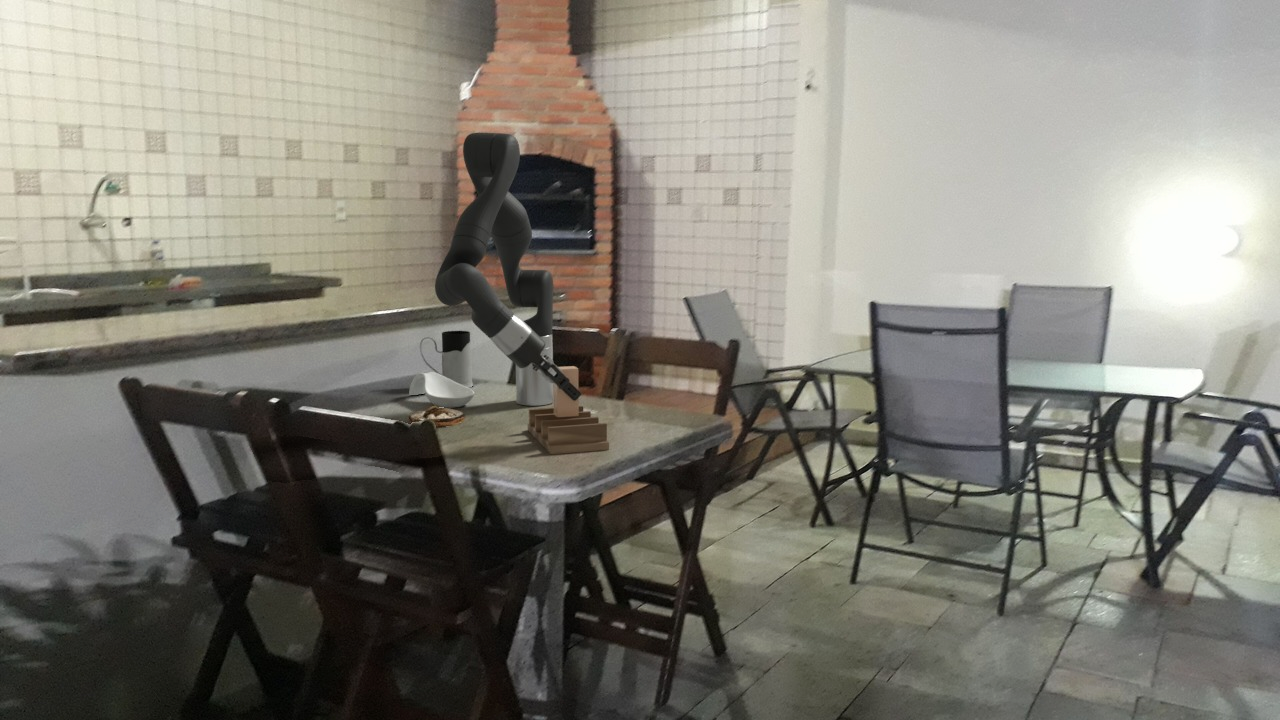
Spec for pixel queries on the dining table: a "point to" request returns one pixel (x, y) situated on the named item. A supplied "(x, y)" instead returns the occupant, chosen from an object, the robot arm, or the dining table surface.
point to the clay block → (561, 400)
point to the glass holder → (455, 356)
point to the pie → (438, 416)
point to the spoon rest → (440, 390)
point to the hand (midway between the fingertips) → (575, 395)
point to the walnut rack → (567, 431)
